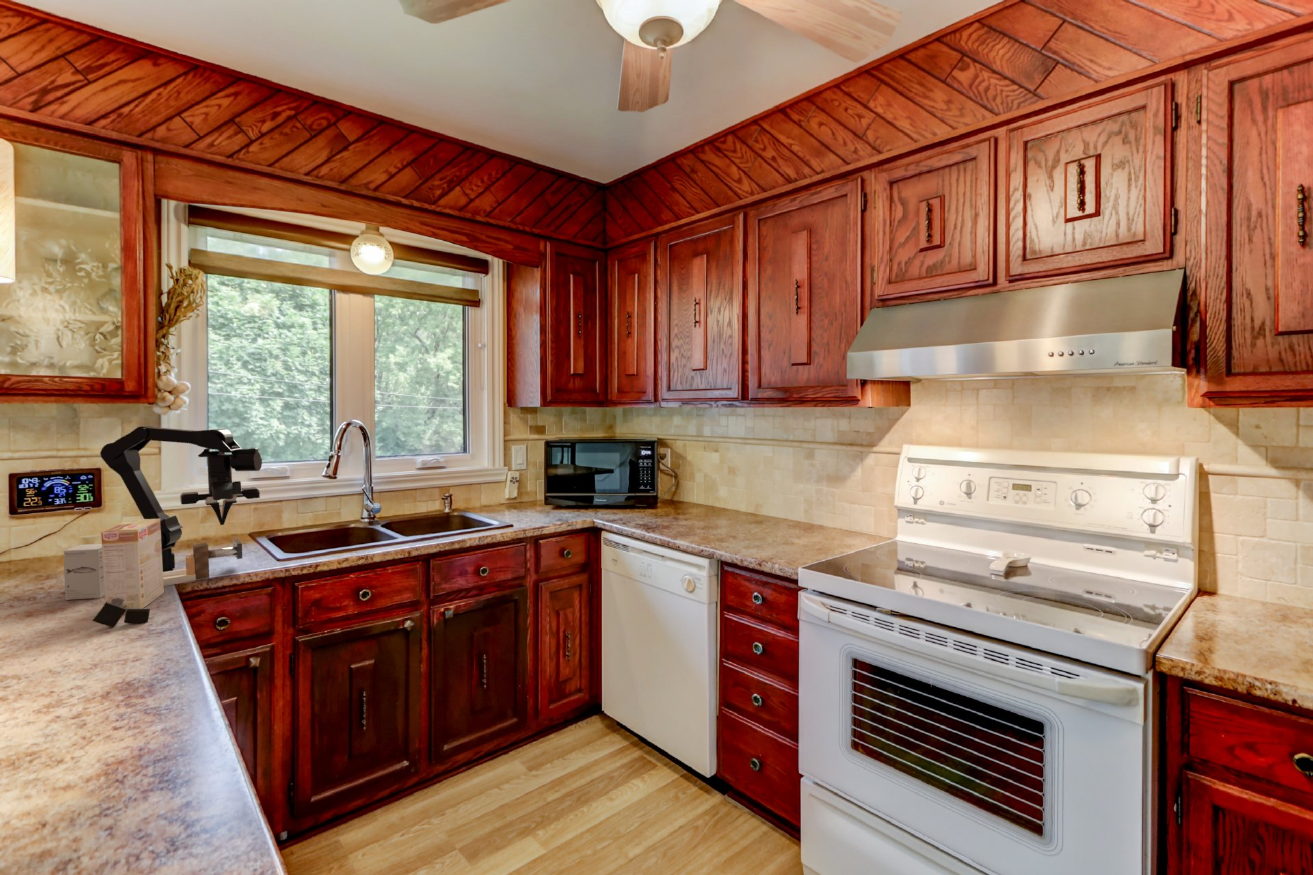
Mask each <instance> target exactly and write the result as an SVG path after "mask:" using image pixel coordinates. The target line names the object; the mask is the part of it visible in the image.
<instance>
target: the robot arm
mask: <svg viewBox="0 0 1313 875" xmlns="http://www.w3.org/2000/svg"><path fill="white" fill-rule="evenodd" d="M150 441H155V442H165V443H167V442H169V443H180V444H181V443H182V444H190V445H194V446H197V447H201V448H205V449H203V451H202V452H201V453H199V454H198V458H206V459H207V460H206V462H207V484H208V492H207V493H199V491H189V492H188V491H186V492H182V493H181V494H180V496H179V498H180V504H181V505H191V504H192V505H195V504H197V503H198V502H199V501H204V503H205V505H206V506H211V508H212V510H213V511H214V513H215V516H216V517H217V520H218V523H219V525H220V526H224V525H225V523H226V520H227V517H228V514H229V510H230V509H231V508H232V506H233V504H236V503H238V501H237V498H245V499H247V500H253V499H260V498H261V495H260V493H261V492H260V489H258V487H254V486H253V487H243V488H242V482H241V481H240V480H239V481H236V480H235V481H233V475H232V474H233V472H232V471H233V470H234V471H235V472H259V471H260V470H261V468H262V465H263V458H262V457H261V454H260V452H259V448H258V447H252V448H242V447H241V446H240V444H239V443H237V441H236V440H235V439H234V436H233V434H232V432H231V431H230V430H229V429H226V428H216V429H214V428H213V429H204V430H191V429H181V428H167V427H155V426H151V425H146V426H138V427H136V428H134V429H133V430H131V431H130V432H129V433H127V434H125V435H123V436H122V437H120V438H117V440H115V441H114V442H109V443H107V444H104V445H103V446H102V448H101V450H100V451H99V453H100V457H101V459H102V460H103V461H104V463H105V464H106V465H107V466H108V468H109V469H111V470H113V472H115V473H116V474H118V475H119V476H120V477H121V480H122V482H123V484H124V485H125V487H126V489H127V490H128V493H129V494H130V496H131V498H132V499H133V502H134V503H135V505H136V507H137V509H138V511H139V512H140V514H141V516H142V519H160V527H161V547H162V566H163V572H167V571H174V569H175V568H176V563H175V562H176V561H175V559H176V558H175V557H176V556H175V553H174V552H173V551H172V548H174V547H175V546H176V544H177V542H178V541H180V539H181V537H182V535H183V531H182V528H183V525H182V524H181V523H180V522H179V520H178V517H177V515H172V516H169V515H168V514H166V513H165V511H164V510H163V508H162V507H161V505H160V502H159V501H158V498H157V497H156V495H155V493H154V491H153V489H152V488H151V486H150V484H149V482H148V480H147V479H146V477H145V475H144V473H143V472H142V469H141V455H140V453H139V452H140V451H141V450H143V449H144V448H145V447H146V446H148V444H149V443H150ZM220 500H222V509H221V508H220V502H219V501H220Z"/></svg>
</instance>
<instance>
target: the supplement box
mask: <svg viewBox="0 0 1313 875" xmlns="http://www.w3.org/2000/svg"><path fill="white" fill-rule="evenodd" d="M63 572H64V596H65V597H64V598H65V601H70V600H83V599H84V600H86V599H88V600H89V599H101V598H103V597H105V593H104V574H103V558H102V543H89V544H86V543H85V544H78V545H75V546H73V547H70V548H66V549H65V550H63Z"/></svg>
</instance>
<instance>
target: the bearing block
mask: <svg viewBox="0 0 1313 875" xmlns="http://www.w3.org/2000/svg"><path fill="white" fill-rule="evenodd" d="M208 550H209V545H208V543H207V542H206V541H205V542H198V543H197V542H196V543H192V554H193V556H194V561H195V575H196V581H197V580H204V579H210V562H209V561H210V560H209V554H208Z"/></svg>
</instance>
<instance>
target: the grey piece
mask: <svg viewBox="0 0 1313 875" xmlns="http://www.w3.org/2000/svg"><path fill="white" fill-rule="evenodd" d="M232 545H233V546H230V547H223V548H217V549H208V554H209V559H216V558H225V557H231V556H235V558H236V559H237V560H240V559H242V560H243V543H242V542H241V541H240V540H239V538H233V539H232Z"/></svg>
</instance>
